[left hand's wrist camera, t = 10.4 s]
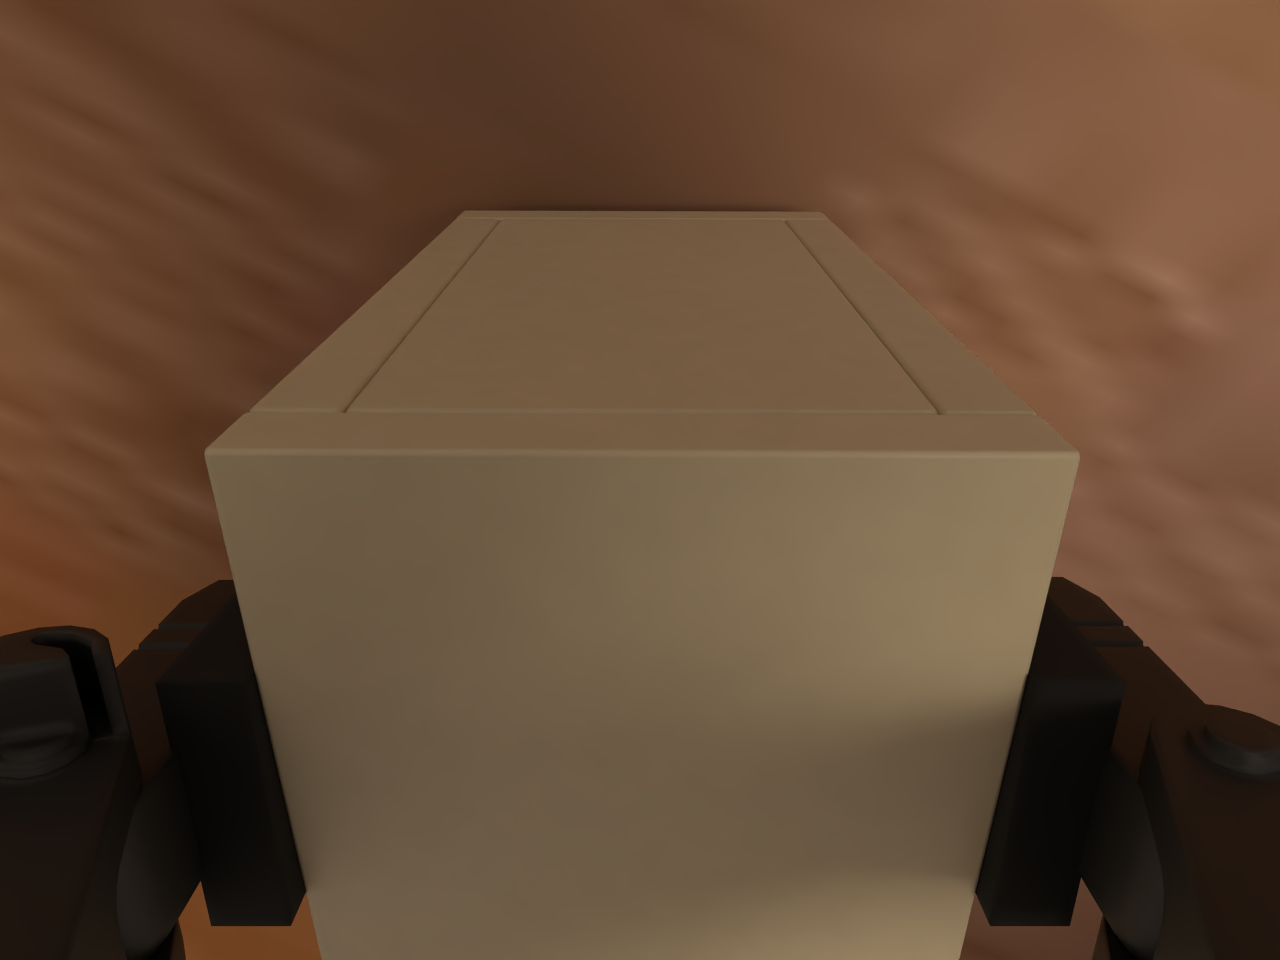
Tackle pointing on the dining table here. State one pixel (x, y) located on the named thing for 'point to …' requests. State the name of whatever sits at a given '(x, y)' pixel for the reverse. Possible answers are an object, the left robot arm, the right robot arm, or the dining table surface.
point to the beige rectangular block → (641, 596)
